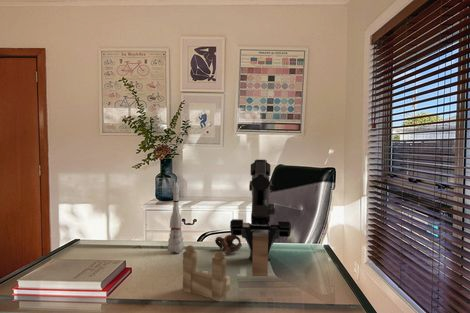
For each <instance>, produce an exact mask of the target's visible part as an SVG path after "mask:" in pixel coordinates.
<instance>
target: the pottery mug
mask: <svg viewBox="0 0 470 313" xmlns="http://www.w3.org/2000/svg"><path fill="white" fill-rule="evenodd" d="M234 240H237V242H238V243H237V244H235V243H233V242H234ZM214 242H215V244H216V245H217V247H219V249H220V250H222V249H223V250H225V251H224V253H225V254H226V255H227V256H229V255H230V254H232V253H235V252H237V251H239V250H241V248H242V247H243V246H242V243H241V242H242V240H241V238H240V237H239V236H233V235H231V234H226V235H225V236H224V237H221V236H217V237H216V238H215V240H214ZM225 254H224V255H225Z"/></svg>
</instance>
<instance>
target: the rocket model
mask: <svg viewBox="0 0 470 313" xmlns="http://www.w3.org/2000/svg"><path fill="white" fill-rule="evenodd" d="M172 191H173V192H172V193H173V198H172V199H173V202H172V203H173V207H172V213H171V216H170V221H169V228H170V230H169V231H170V232H169V234H168V235H169V238H168V242H167V243H168V244H167V251H168V252H169V253H172V254H173V253H175V254H179V253H181V252H182V251H183V250H184V248H185V245H184V244H185V243H184V237H183V232H182V227H183V225H182V224H183V222H182V216H181V213H180V206H179V201H180V200H179V194H180V185H179V184H178V182H177V181H176V182H174V185H173V187H172Z"/></svg>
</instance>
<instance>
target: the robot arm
mask: <svg viewBox="0 0 470 313" xmlns="http://www.w3.org/2000/svg"><path fill="white" fill-rule="evenodd" d="M271 173H272V172H271V163H269V162H267V159H254V162H252V163H251V164H250V176H251V180H250V181H249V185H248V186H249V187H248V188H249V191H250V192H251V196H252V197H251V214H250V222H251V223H249V222H244V219H238V218H237V219H235V218H234V219H231V220H230V223H229V224H230V225H229V227H230V228H229V230H230V235H233V236H238V237H239V236H240V237H241V238H243V239H245V241H246V243H247V245H248V248H249V256H248V258H249V259H250V260H252V261H253V230H268V255H270V252H271V250H272V247H273V245H274V243H275V241H276V240H279V238H289V237H290V236H291V230H292V222H290V220H277V224H270V222H271V218H270V217H271V216H275V212H276V209H275V207H276V205H275V204H274V203H270V192H272V191H273V190H274V189H275V188H274V187H275V186H274V183H273V182H272V180H270V176H271ZM268 261H271V258H270V257H268Z"/></svg>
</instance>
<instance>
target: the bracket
mask: <svg viewBox="0 0 470 313" xmlns="http://www.w3.org/2000/svg"><path fill="white" fill-rule="evenodd" d="M268 241H269V240H268V230H253V260H252V263H251V264H252V277H266V278H267V277H268V276H269V274H268V273H269V271H268V270H269V268H268V267H269V266H268V265H269V260H268V258H269V254H268Z"/></svg>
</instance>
